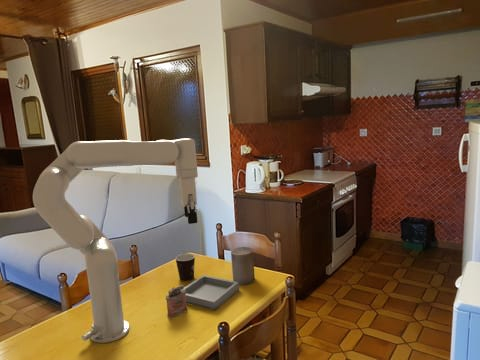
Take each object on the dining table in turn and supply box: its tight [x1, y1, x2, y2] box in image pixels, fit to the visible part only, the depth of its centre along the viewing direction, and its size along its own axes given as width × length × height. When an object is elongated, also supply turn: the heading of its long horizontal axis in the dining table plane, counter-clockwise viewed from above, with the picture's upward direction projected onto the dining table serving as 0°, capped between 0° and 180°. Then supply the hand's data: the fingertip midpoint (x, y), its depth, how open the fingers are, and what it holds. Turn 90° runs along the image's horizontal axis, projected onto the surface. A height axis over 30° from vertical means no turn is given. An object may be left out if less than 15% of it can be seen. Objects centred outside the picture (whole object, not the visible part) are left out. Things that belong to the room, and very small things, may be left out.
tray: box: [182, 274, 240, 312], centre depth 146 cm, size 18×18×4 cm
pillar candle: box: [230, 246, 256, 286], centre depth 158 cm, size 10×10×15 cm
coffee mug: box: [175, 253, 196, 282], centre depth 162 cm, size 12×9×10 cm
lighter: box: [165, 284, 188, 319], centre depth 134 cm, size 8×3×10 cm, turn 131°
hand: (191, 219), depth 132 cm, fingers open, 9 cm apart
